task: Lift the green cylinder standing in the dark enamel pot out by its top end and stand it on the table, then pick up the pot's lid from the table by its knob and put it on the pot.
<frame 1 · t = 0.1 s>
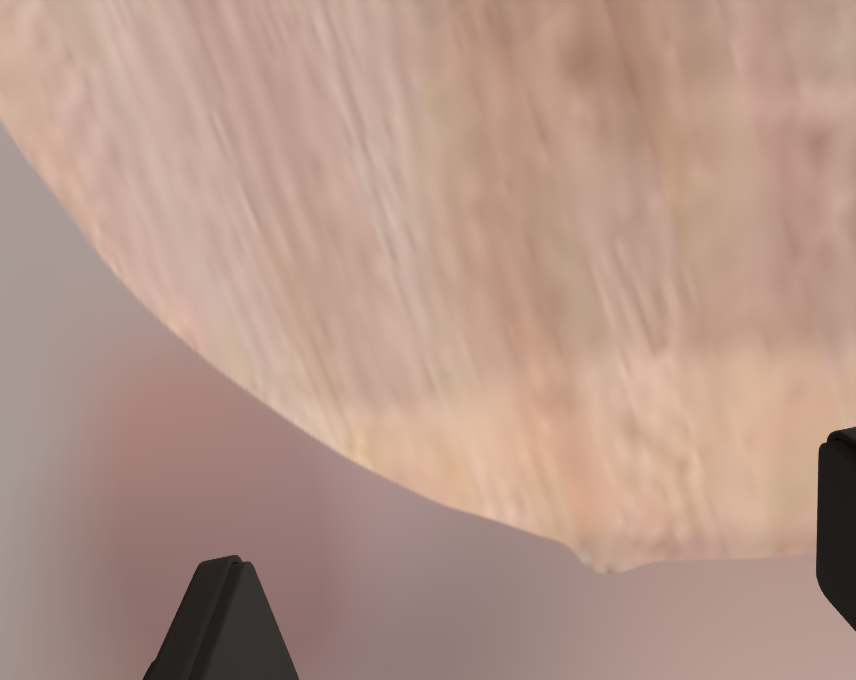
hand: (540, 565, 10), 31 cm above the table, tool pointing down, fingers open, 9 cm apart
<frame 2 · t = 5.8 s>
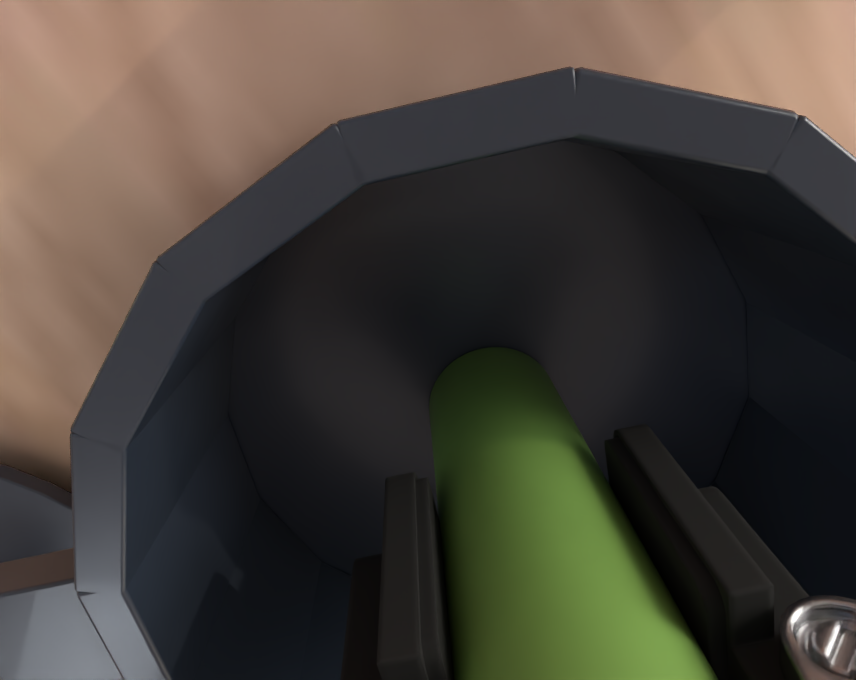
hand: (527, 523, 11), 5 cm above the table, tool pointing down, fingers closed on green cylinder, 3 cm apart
green cylinder: (491, 404, 15), point 1 cm above the table, touching gripper, pot
pot: (489, 395, 16), on the table
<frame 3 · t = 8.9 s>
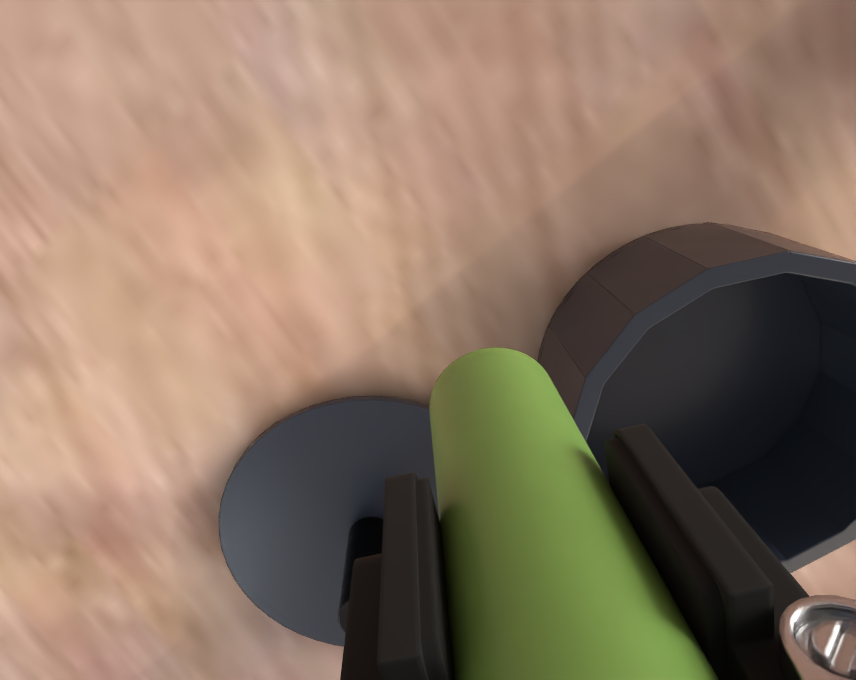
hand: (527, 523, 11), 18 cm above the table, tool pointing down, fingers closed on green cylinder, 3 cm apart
green cylinder: (492, 404, 15), point 13 cm above the table, touching gripper
pot: (681, 371, 30), on the table
pot lid: (372, 529, 32), point 1 cm above the table
when the fingers open (5 cm above the table, at t = 12.2 s): green cylinder stays where it is, on the table.
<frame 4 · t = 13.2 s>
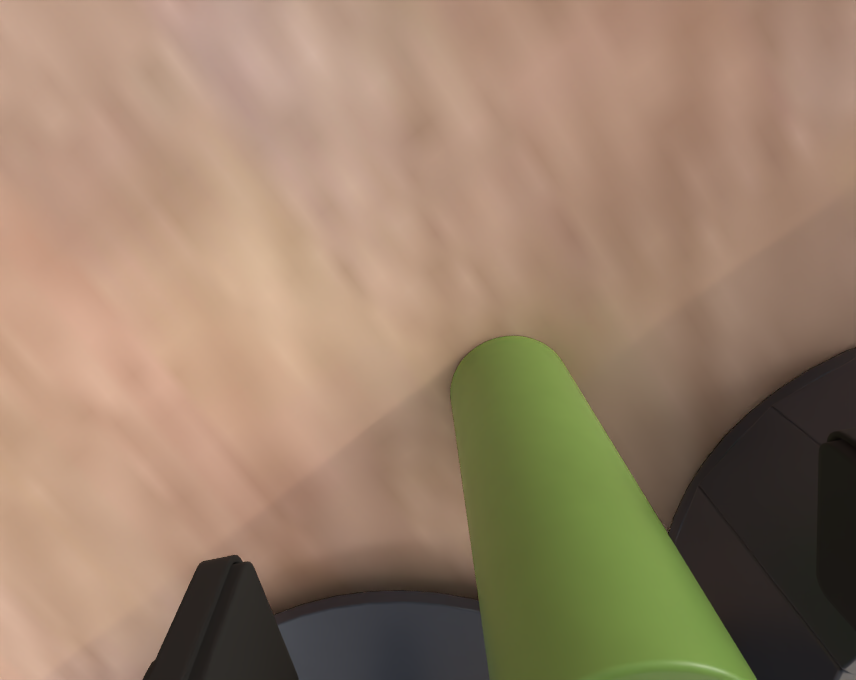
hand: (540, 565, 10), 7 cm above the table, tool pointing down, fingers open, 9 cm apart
green cylinder: (509, 390, 16), on the table
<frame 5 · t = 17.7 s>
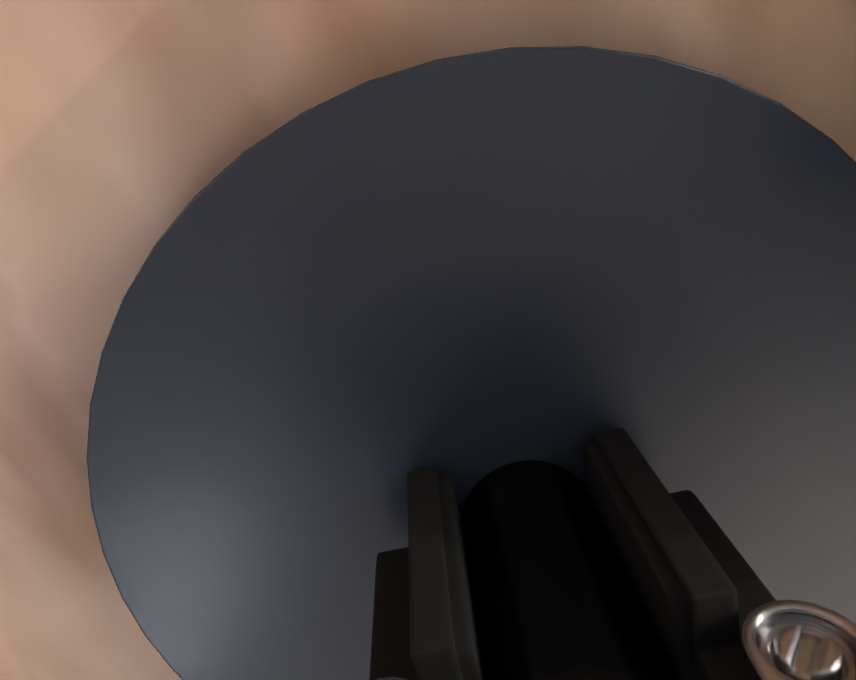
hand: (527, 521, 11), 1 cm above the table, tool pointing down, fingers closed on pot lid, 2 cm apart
pot lid: (520, 498, 12), point 1 cm above the table, touching gripper
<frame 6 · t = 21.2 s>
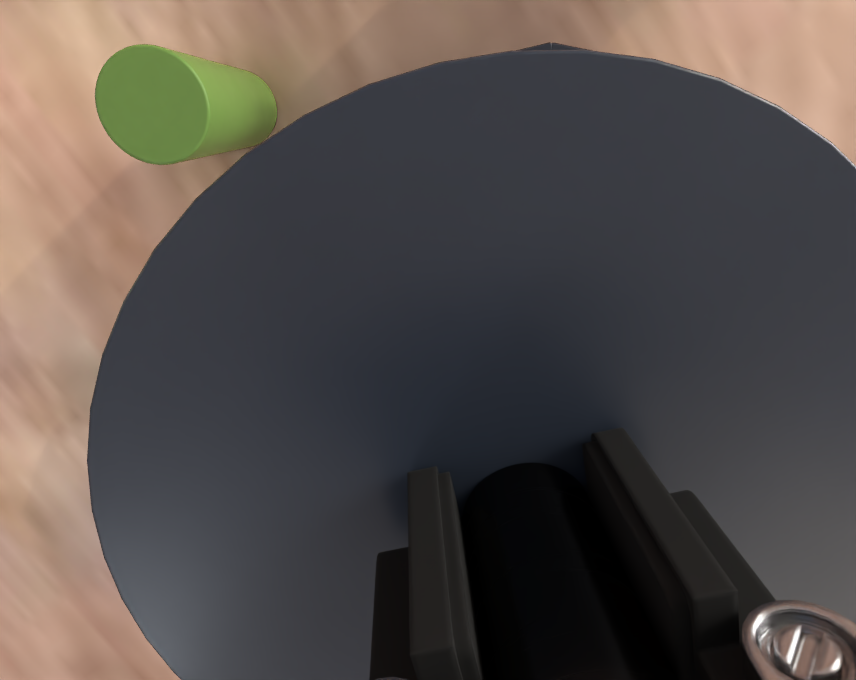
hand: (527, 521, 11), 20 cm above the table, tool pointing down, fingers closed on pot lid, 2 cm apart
green cylinder: (240, 109, 26), on the table
pot lid: (520, 500, 12), point 19 cm above the table, touching gripper
when the fingers open (7 cm above the table, at t = 24.6 s): pot lid stays where it is, resting on pot.
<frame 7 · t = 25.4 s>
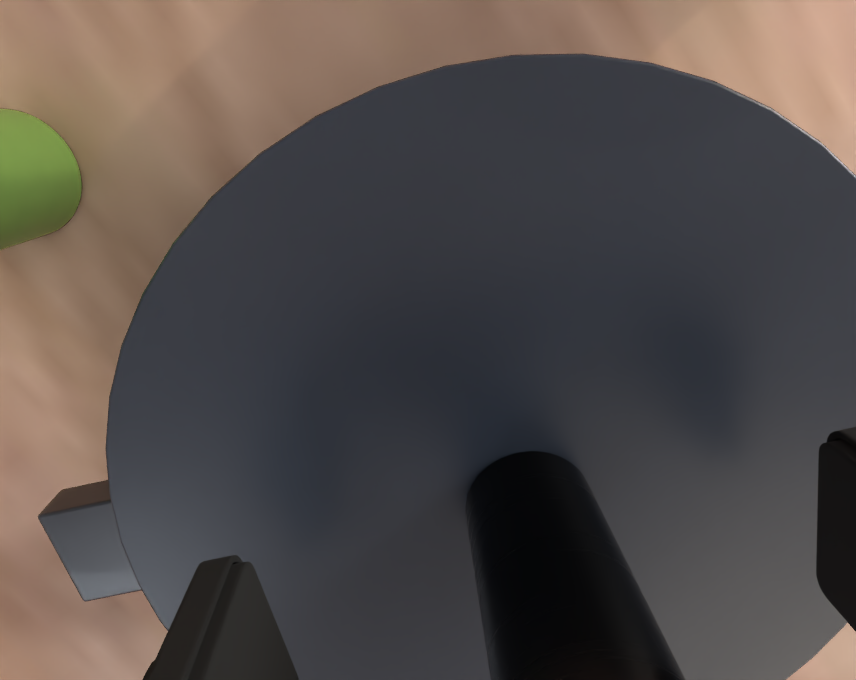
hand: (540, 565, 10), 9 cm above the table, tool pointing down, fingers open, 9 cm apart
green cylinder: (19, 174, 16), on the table
pot: (481, 360, 18), on the table
pot lid: (522, 488, 12), point 6 cm above the table, touching pot
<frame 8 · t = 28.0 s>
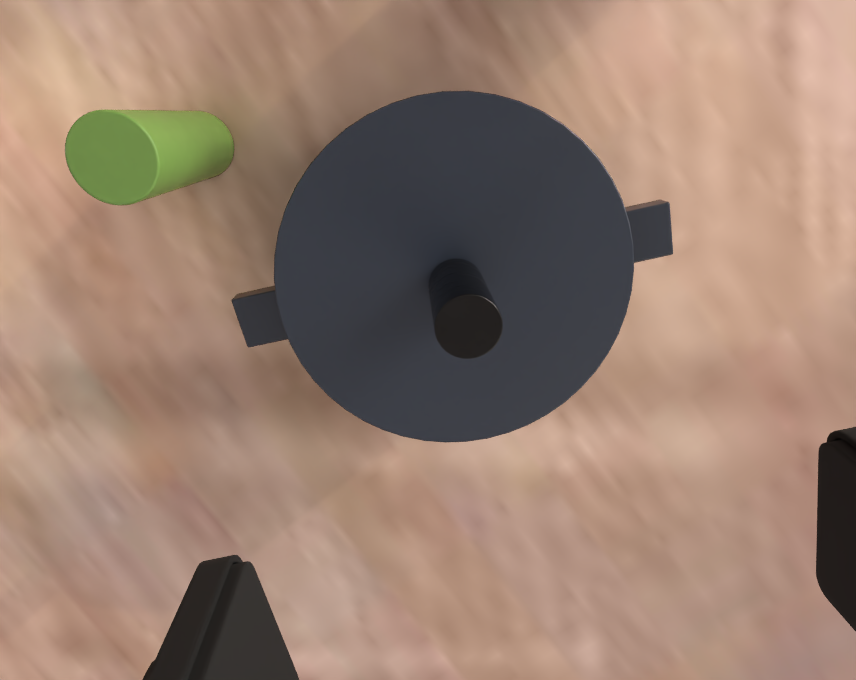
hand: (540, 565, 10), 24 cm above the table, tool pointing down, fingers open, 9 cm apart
green cylinder: (202, 145, 30), on the table
pot: (444, 250, 33), on the table
pot lid: (454, 282, 26), point 6 cm above the table, touching pot
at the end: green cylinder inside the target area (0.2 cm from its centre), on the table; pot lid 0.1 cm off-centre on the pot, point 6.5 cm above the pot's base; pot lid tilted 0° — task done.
